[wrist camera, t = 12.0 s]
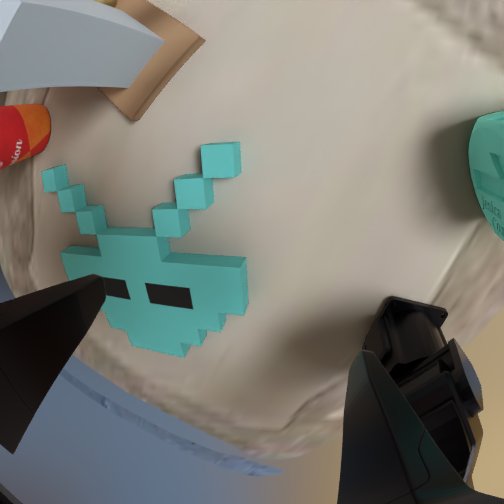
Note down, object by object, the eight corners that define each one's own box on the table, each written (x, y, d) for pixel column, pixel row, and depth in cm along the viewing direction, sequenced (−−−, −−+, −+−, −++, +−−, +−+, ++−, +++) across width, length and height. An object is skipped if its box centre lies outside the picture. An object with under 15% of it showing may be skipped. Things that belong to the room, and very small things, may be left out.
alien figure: (56, 166, 23) (99, 323, 32) (41, 171, 21) (90, 333, 30) (241, 141, 19) (252, 352, 28) (233, 143, 17) (247, 368, 26)
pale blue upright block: (165, 41, 15) (21, 2, 4) (128, 88, 17) (-20, 95, 6) (121, 10, 14) (-4, -20, 3) (90, 53, 16) (-38, 51, 5)
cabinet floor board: (205, 40, 16) (180, 24, 12) (139, 119, 19) (105, 122, 15) (129, -10, 14) (99, -23, 10) (77, 60, 17) (45, 58, 14)
